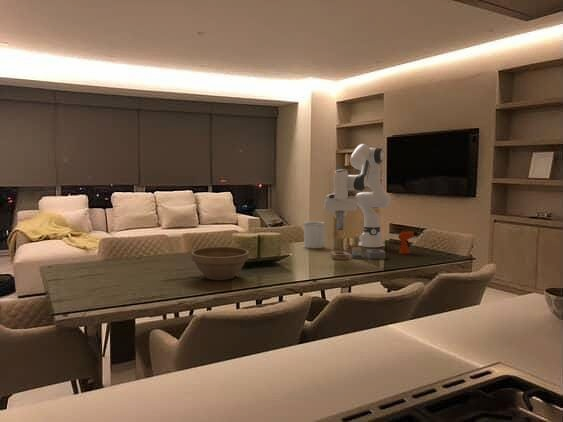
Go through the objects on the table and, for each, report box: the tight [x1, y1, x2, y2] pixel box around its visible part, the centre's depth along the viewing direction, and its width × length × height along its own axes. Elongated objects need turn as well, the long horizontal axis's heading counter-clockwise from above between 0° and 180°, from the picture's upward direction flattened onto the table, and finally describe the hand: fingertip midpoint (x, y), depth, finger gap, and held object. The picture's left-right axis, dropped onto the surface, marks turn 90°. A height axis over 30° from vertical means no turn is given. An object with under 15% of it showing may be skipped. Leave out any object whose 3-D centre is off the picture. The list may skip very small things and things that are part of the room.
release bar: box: [351, 247, 362, 257], centre depth 286 cm, size 4×5×6 cm
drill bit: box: [336, 211, 345, 231], centre depth 282 cm, size 4×4×14 cm
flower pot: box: [190, 246, 250, 281], centre depth 230 cm, size 28×28×13 cm
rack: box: [330, 251, 350, 260], centre depth 284 cm, size 10×10×3 cm
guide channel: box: [347, 252, 365, 260], centre depth 289 cm, size 14×8×1 cm, turn 1°
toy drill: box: [398, 230, 425, 255], centre depth 302 cm, size 5×19×15 cm, turn 103°
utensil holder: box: [303, 221, 325, 249], centre depth 325 cm, size 15×15×18 cm
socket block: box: [365, 249, 387, 260], centre depth 286 cm, size 10×10×4 cm
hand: (340, 218), depth 282 cm, fingers closed on drill bit, 4 cm apart
